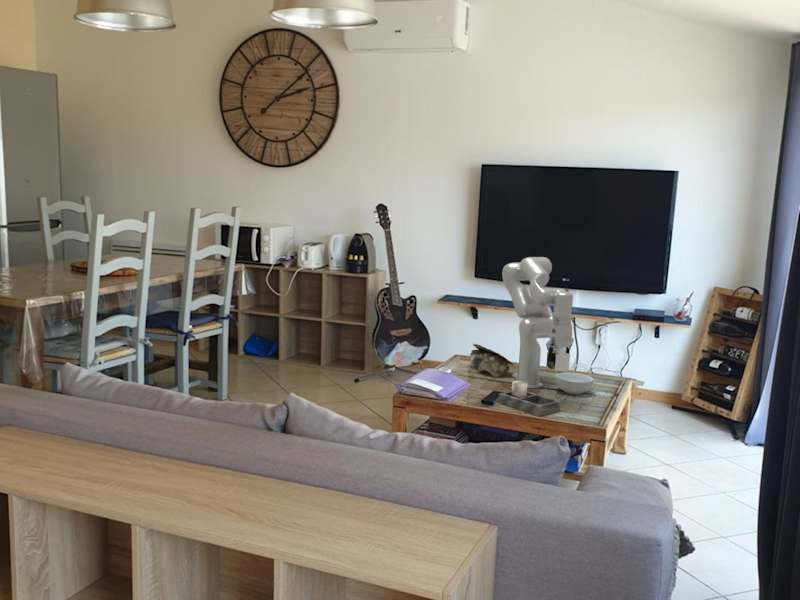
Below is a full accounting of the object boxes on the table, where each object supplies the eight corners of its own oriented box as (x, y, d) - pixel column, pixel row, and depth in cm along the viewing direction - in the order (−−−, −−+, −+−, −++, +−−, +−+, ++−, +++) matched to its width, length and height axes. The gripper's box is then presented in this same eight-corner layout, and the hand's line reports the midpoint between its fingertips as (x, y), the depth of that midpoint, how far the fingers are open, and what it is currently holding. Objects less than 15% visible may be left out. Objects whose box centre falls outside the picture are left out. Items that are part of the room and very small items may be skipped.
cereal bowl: (592, 398, 352) (593, 383, 351) (554, 395, 355) (555, 379, 354) (591, 388, 368) (592, 373, 367) (554, 385, 372) (555, 370, 371)
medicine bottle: (545, 366, 347) (548, 340, 345) (560, 366, 350) (562, 339, 347) (554, 371, 341) (556, 344, 338) (568, 370, 343) (571, 343, 341)
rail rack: (498, 402, 341) (499, 382, 339) (519, 397, 349) (520, 377, 348) (539, 416, 324) (540, 394, 322) (560, 410, 332) (561, 389, 331)
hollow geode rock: (472, 373, 406) (455, 354, 401) (489, 355, 409) (472, 335, 403) (501, 386, 381) (482, 365, 375) (518, 367, 383) (500, 346, 378)
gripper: (555, 324, 333) (552, 364, 336) (581, 320, 344) (578, 359, 347) (541, 321, 338) (538, 360, 342) (567, 317, 349) (564, 355, 353)
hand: (558, 359), depth 344 cm, fingers closed on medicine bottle, 9 cm apart
